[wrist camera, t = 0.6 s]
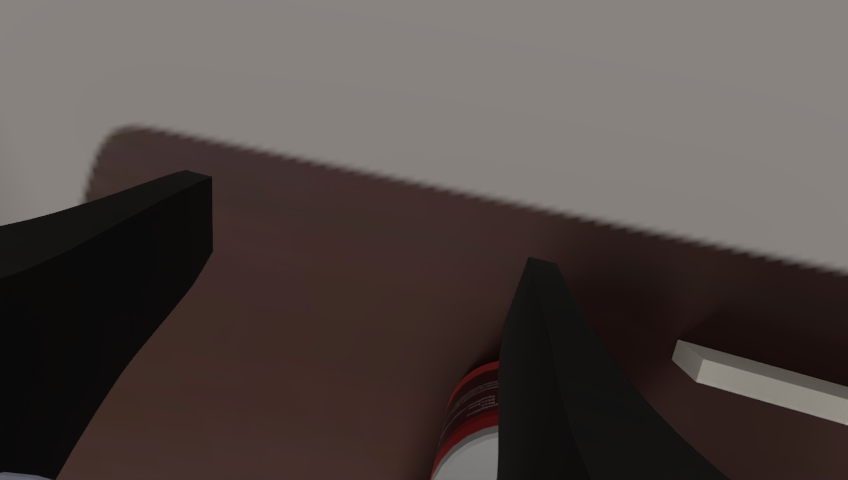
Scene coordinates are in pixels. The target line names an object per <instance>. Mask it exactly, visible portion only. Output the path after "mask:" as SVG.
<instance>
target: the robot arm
mask: <svg viewBox="0 0 848 480" xmlns="http://www.w3.org/2000/svg"><path fill="white" fill-rule="evenodd" d="M212 252H213V228H212V177H211V176H207V175H203V174H199V173H195V172H191V171H187V170H185V171H181V172H177V173H173V174H170V175H167V176H164V177H161V178H158V179H155V180H152V181H149V182H147V183H144V184H141V185H138V186H135V187H132V188H130V189H127V190H124V191H121V192H118V193H115V194H112V195H109V196H107V197H104V198H101V199H98V200H95V201H91V202H88V203H85V204H82V205H78V206H75V207H72V208H69V209H66V210H62V211H59V212H56V213H52V214H49V215H45V216H42V217H37V218H33V219H30V220H25V221H21V222H17V223H12V224H8V225H3V226H0V480H56V478H57V476H58V474H59V473H60V471H61V469H62V467H63V466H64V464H65V462H66V460H67V459H68V457H69V455H70V453H71V452H72V450H73V448H74V447H75V445H76V444H77V442H78V440H79V439H80V437H81V435H82V434H83V432H84V431H85V429H86V427H87V426H88V424H89V422H90V421H91V419H92V418H93V416H94V414H95V413H96V411H97V409H98V408H99V406H100V405H101V403H102V402H103V400H104V399H105V397H106V396H107V394H108V393H109V391H110V390H111V388H112V387H113V385H114V384H115V382H116V381H117V379H118V378H119V376H120V375H121V373H122V372H123V370H124V369H125V368H126V366H127V365H128V364H129V363H130V361H131V360H132V359H133V357H134V356H135V355H136V354H137V352H138V351H139V350H140V349H141V348H142V346H143V345H144V344H145V343H146V342H147V340H148V339H149V338H150V337H151V336H152V334H153V333H154V332H155V331H156V330H157V328H158V327H159V326H160V325H161V324H162V322H163V321H164V320H165V319H166V318H167V316H168V315H169V314H170V313H171V311H172V310H173V309H174V308H175V307H176V305H177V304H178V303H179V302H180V300H181V299H182V298H183V297H184V296H185V294H186V293H187V292H188V290H189V289H190V288H191V287H192V285H193V284H194V282H195V281H196V279H197V277H198V276H199V274H200V273H201V271H202V269H203V267H204V266H205V264H206V262H207V260H208V259H209V257H210V255H211V254H212ZM497 480H730V479H729V478H727V477H726V476H725V475H724V474H723V473H721V472H720V471H719V470H718V469H717V468H716V467H714V466H713V465H712V464H711V463H710V462H709V461H708V460H706V459H705V458H704V457H703V456H702V455H701V454H700V453H698V452H697V451H696V450H695V449H694V448H693V447H692V446H691V445H690V444H689V443H687V442H686V441H685V440H684V439H683V438H682V437H681V436H680V435H679V434H678V433H677V432H676V431H675V430H674V429H673V428H672V427H671V426H670V425H669V424H668V423H667V422H666V421H665V420H664V419H663V418H662V417H661V416H660V415H659V414H658V413H657V412H656V411H655V410H654V409H653V407H652V406H651V405H650V404H649V403H648V402H647V401H646V400H645V399H644V397H643V396H642V395H641V394H640V393H639V392H638V390H637V389H636V388H635V387H634V386H633V384H632V383H631V382H630V381H629V379H628V378H627V377H626V376H625V375H624V373H623V372H622V371H621V370H620V368H619V367H618V366H617V364H616V363H615V362H614V360H613V359H612V357H611V356H610V354H609V353H608V352H607V350H606V349H605V347H604V346H603V344H602V343H601V341H600V340H599V338H598V337H597V335H596V334H595V332H594V331H593V329H592V327H591V326H590V324H589V322H588V321H587V319H586V317H585V316H584V314H583V312H582V311H581V309H580V307H579V305H578V303H577V302H576V300H575V298H574V296H573V294H572V292H571V291H570V289H569V287H568V285H567V283H566V281H565V279H564V277H563V275H562V274H561V272H560V270H559V268H558V266H557V265H556V264H555V263H551V262H547V261H543V260H539V259H535V258H531V257H529V258H528V260H527V263H526V266H525V268H524V271H523V274H522V277H521V279H520V282H519V285H518V288H517V290H516V293H515V296H514V299H513V301H512V304H511V307H510V310H509V312H508V315H507V318H506V320H505V323H504V326H503V334H502V341H501V348H500V356H499V364H498V468H497Z"/></svg>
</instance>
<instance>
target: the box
mask: <svg viewBox="0 0 848 480" xmlns="http://www.w3.org/2000/svg"><path fill="white" fill-rule="evenodd" d="M672 361H674V362H675V363H676V364H677V365H678V366H679V367H680V368H681V369H682V370H684V371H685V372H686V373H687V374H688V375H689V376H690V377H691V378H692V379H693V380H695V381H696V382H698V383H702V384H705V385H709V386H712V387H716V388H719V389H723V390H726V391H730V392H734V393H737V394H741V395H744V396H748V397H751V398H755V399H758V400H762V401H765V402H769V403H772V404H776V405H779V406H783V407H786V408H790V409H793V410H797V411H800V412H804V413H807V414H811V415H814V416H818V417H821V418H825V419H828V420H832V421H835V422H839V423H842V424H846V425H848V387H846V386H843V385H839V384H835V383H832V382H828V381H825V380H821V379H817V378H814V377H810V376H807V375H803V374H800V373H796V372H792V371H789V370H785V369H782V368H778V367H774V366H771V365H767V364H764V363H760V362H757V361H753V360H749V359H746V358H742V357H739V356H735V355H731V354H728V353H724V352H721V351H717V350H713V349H710V348H706V347H703V346H699V345H696V344H692V343H688V342H685V341H681V340H678V341H677V344H676V347H675V350H674V353H673V356H672Z"/></svg>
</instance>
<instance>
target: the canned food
mask: <svg viewBox="0 0 848 480" xmlns="http://www.w3.org/2000/svg"><path fill="white" fill-rule="evenodd" d="M498 364H499V361H496V362H492V363H488V364H485V365H483V366H481V367H479V368H477V369H474V370H473V371H472V372H470V373H469V374H468V375H466V376H465V377H464V378H463V379H462V380H461V381H460V383H459V384H458V385H457V386H456V387H455V389H454V391H453V393H452V395H451V397H450V399H449V402H448V406H447V409H446V413H445V418H444V422H443V426H442V431H441V435H440V439H439V443H438V448H437V452H436V456H435V461H434V465H433V469H432V474H431V478H430V480H497V468H498Z"/></svg>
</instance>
